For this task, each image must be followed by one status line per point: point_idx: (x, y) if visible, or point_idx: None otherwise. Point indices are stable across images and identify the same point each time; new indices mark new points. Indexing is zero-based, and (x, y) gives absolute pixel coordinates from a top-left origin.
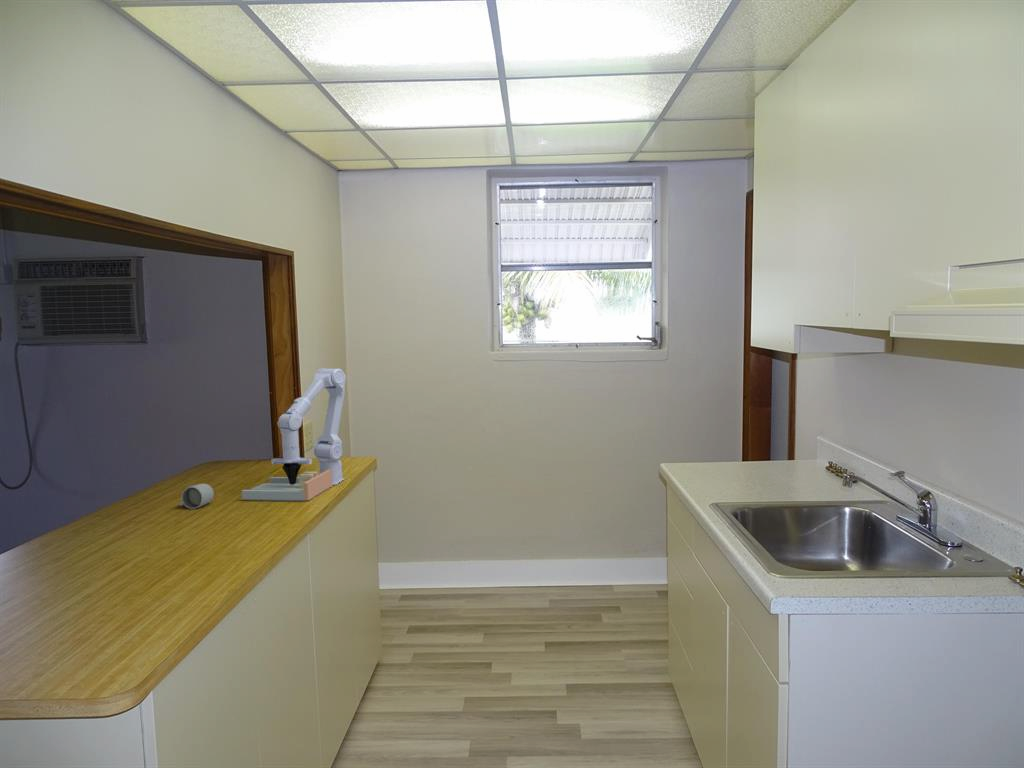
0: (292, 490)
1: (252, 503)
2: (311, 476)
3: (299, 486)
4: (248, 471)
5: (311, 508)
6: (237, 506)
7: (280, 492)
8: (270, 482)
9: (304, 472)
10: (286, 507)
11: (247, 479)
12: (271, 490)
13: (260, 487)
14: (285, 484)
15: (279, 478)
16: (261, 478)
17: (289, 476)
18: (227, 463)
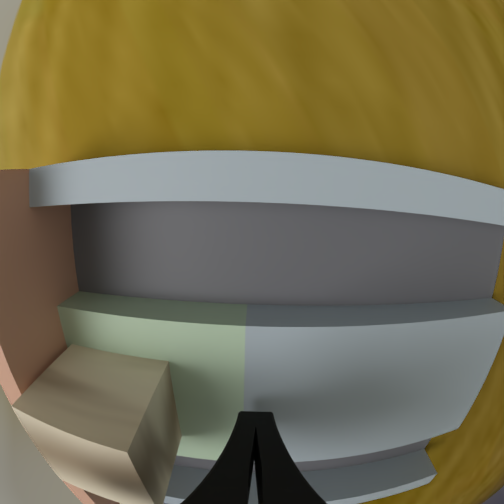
0: (127, 195)
1: (434, 118)
2: (22, 399)
3: (161, 371)
4: (464, 495)
5: (21, 60)
6: (469, 71)
7: (250, 152)
8: (425, 459)
9: (141, 499)
10: (141, 26)
11: (477, 465)
12: (374, 193)
13: (473, 360)
14: (337, 444)
15: (390, 486)
16: (444, 485)
17: (267, 464)
18: (485, 497)
